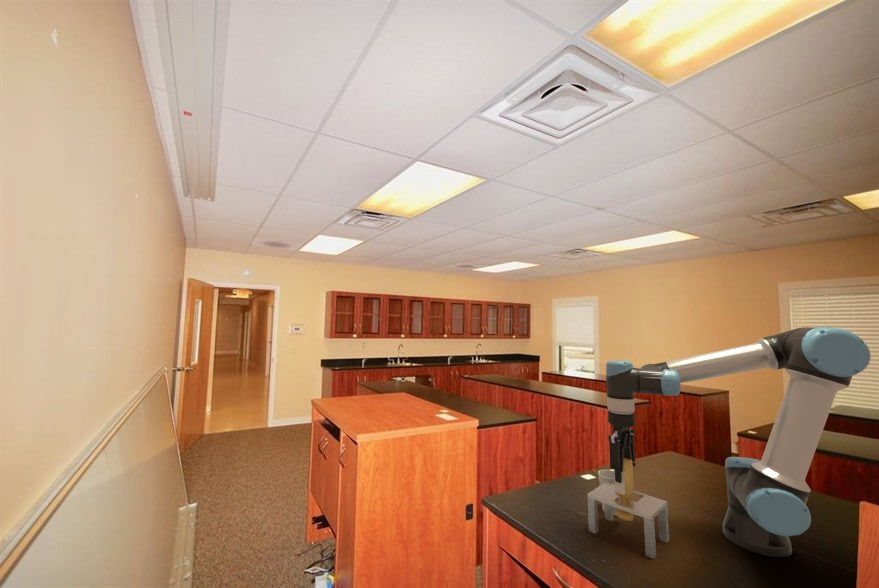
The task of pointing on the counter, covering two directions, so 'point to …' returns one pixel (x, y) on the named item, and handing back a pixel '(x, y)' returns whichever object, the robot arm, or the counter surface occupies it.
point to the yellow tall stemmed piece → (626, 490)
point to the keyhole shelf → (644, 508)
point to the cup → (608, 477)
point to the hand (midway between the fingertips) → (624, 489)
